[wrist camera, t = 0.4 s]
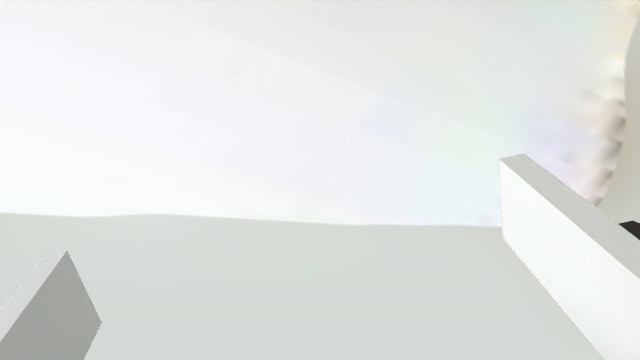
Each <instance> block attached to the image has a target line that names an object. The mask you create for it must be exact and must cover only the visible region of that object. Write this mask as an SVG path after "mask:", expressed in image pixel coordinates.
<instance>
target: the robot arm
mask: <svg viewBox="0 0 640 360" xmlns="http://www.w3.org/2000/svg"><path fill="white" fill-rule="evenodd" d="M499 167H500V190H501V213H502V236H503V238H504V240H505V241H506V242H507V243H508V245H509V246H510V247H511V248H512V249H513V250H514V252H515V253H516V254H517V255H518V256H519V258H520V259H521V260H522V261H523V262H524V263H525V265H526V266H527V267H528V268H529V270H530V271H531V272H532V273H533V274H534V275H535V277H536V278H537V279H538V280H539V281H540V282H541V284H542V285H543V286H544V287H545V289H546V290H547V291H548V292H549V293H550V294H551V296H552V297H553V298H554V299H555V300H556V302H557V303H558V304H559V305H560V306H561V307H562V309H563V310H564V311H565V312H566V313H567V315H568V316H569V317H570V318H571V320H573V322H574V323H575V324H576V325H577V327H578V328H579V329H580V330H581V331H582V332H583V334H584V335H585V336H586V337H587V339H588V340H589V341H590V342H591V343H592V344H593V346H594V347H595V348H596V349H597V350H598V352H600V354H601V355H602V356H603V357H604V359H605V360H640V223H637V222H635V221H629V222H625V223H620V224H617V223H616V222H615V221H613V220H612V219H611V218H609V217H608V216H607V215H605V214H604V213H603V212H601V211H600V210H599V209H597V208H596V207H595V206H593V205H592V204H591V203H589V202H588V201H587V200H585V199H584V198H583V197H581V196H580V195H579V194H577V193H576V192H575V191H573V190H572V189H571V188H569V187H568V186H567V185H565V184H564V183H563V182H561V181H560V180H559V179H557V178H556V177H555V176H553V175H552V174H551V173H549V172H548V171H547V170H545V169H544V168H543V167H541V166H540V165H539V164H537V163H536V162H535V161H533V160H532V159H531V158H529V157H528V156H527V155H525V154H521V155H516V156H511V157H507V158H502V159H499ZM100 325H101V320H100V318H99V316H98V314H97V312H96V310H95V308H94V306H93V304H92V302H91V300H90V297H89V295H88V293H87V291H86V289H85V287H84V285H83V283H82V281H81V279H80V277H79V275H78V273H77V270H76V268H75V266H74V264H73V262H72V260H71V258H70V256H69V254H68V252H67V251H63V252H59V253H54V254H50V255H44V256H41V258H40V259H39V260H38V262H37V263H36V264H35V265H34V266H33V268H32V269H31V270H30V271H29V273H28V274H27V275H26V276H25V278H24V279H23V280H22V281H21V282H20V284H19V285H18V286H17V287H16V289H15V290H14V291H13V292H12V294H11V295H10V296H9V297H8V299H7V300H6V301H5V302H4V304H3V305H2V306H1V307H0V360H84V358H85V355H86V353H87V351H88V349H89V347H90V345H91V343H92V341H93V339H94V337H95V335H96V333H97V331H98V329H99V327H100Z"/></svg>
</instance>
